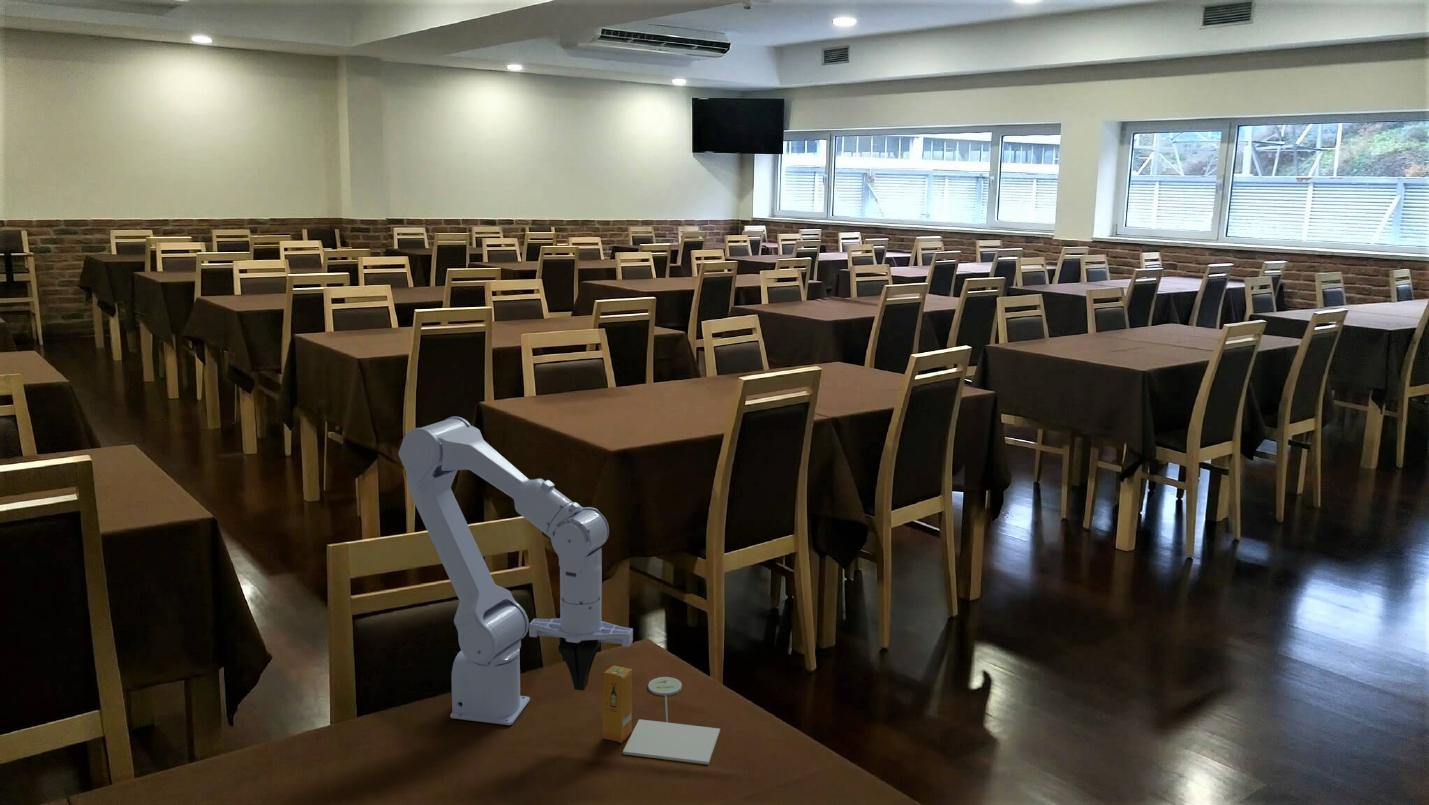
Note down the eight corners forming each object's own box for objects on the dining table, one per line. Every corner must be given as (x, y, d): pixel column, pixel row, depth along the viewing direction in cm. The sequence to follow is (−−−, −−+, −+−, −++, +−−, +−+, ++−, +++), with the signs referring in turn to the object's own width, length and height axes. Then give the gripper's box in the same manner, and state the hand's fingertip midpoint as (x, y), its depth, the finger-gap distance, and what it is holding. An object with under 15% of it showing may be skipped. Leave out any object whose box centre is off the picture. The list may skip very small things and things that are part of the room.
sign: (648, 727, 150) (648, 677, 165) (648, 732, 150) (648, 682, 165) (684, 726, 151) (681, 676, 165) (684, 731, 151) (681, 681, 165)
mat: (622, 754, 143) (622, 751, 143) (639, 721, 152) (639, 719, 152) (708, 764, 141) (708, 761, 141) (720, 731, 150) (720, 728, 150)
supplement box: (633, 733, 149) (634, 668, 147) (621, 744, 146) (622, 678, 144) (613, 727, 150) (614, 663, 148) (601, 738, 147) (601, 673, 145)
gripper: (520, 602, 142) (522, 694, 145) (623, 612, 140) (623, 706, 142) (538, 583, 149) (539, 671, 152) (637, 593, 146) (636, 682, 149)
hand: (580, 687), depth 147 cm, fingers closed
